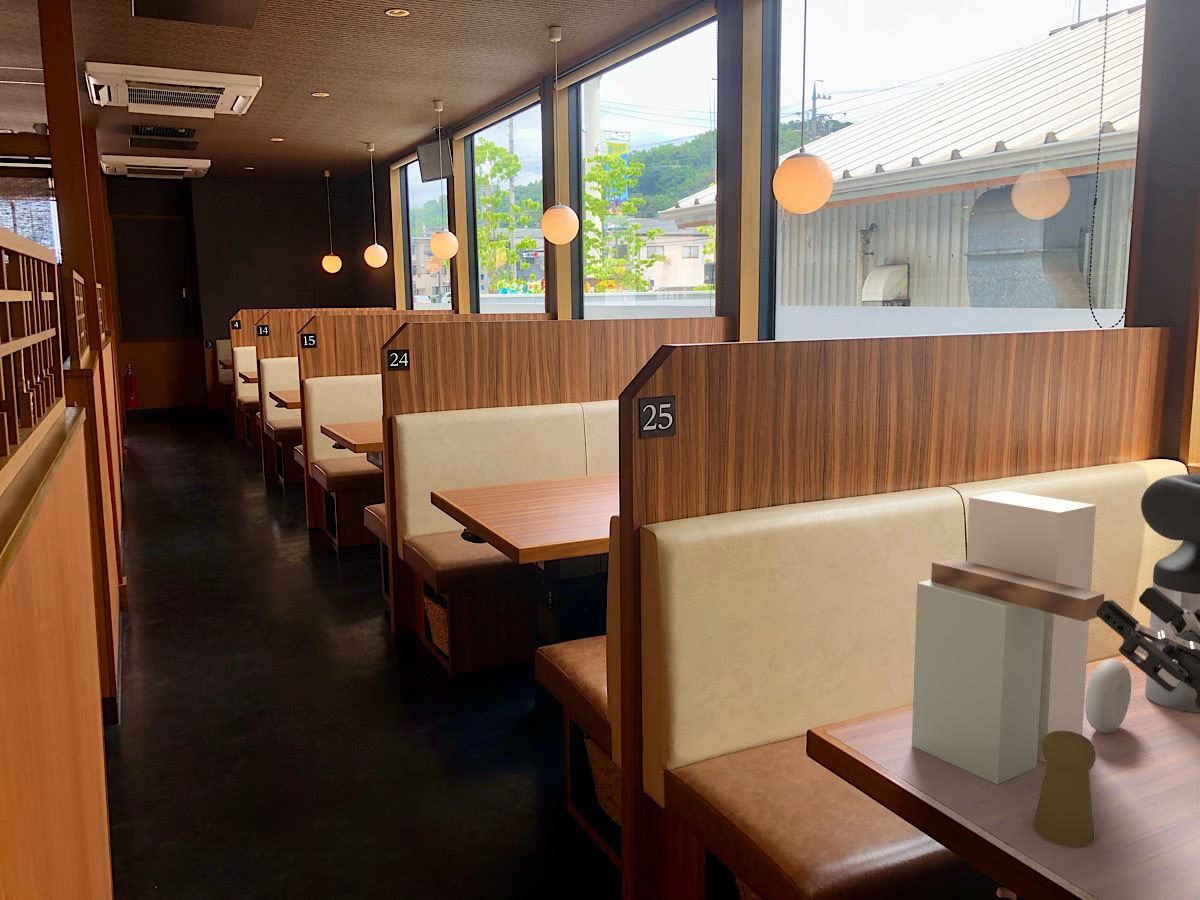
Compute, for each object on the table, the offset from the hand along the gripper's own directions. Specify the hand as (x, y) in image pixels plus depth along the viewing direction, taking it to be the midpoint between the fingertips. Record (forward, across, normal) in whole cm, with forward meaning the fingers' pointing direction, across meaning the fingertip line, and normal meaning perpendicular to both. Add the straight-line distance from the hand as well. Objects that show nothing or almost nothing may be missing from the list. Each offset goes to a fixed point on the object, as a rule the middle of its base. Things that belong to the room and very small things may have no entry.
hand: (1123, 599), depth 101 cm
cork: (-12, +7, +22) cm, 26 cm away
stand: (+3, -5, +30) cm, 31 cm away
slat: (+10, 0, +9) cm, 14 cm away
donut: (-2, -21, +28) cm, 35 cm away
